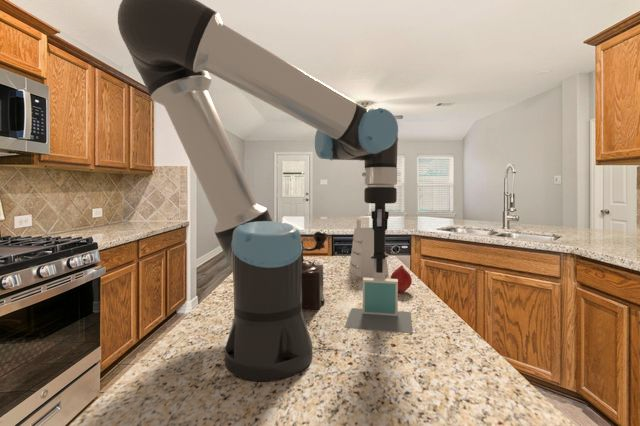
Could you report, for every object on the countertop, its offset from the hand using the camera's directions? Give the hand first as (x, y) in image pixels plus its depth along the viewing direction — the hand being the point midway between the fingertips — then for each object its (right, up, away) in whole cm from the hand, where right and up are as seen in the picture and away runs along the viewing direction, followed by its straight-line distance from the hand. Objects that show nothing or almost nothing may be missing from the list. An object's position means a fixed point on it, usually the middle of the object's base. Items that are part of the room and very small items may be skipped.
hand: (379, 284), depth 81 cm
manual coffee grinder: (-18, -6, +9) cm, 21 cm away
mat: (-1, -7, -5) cm, 9 cm away
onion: (+9, -6, +15) cm, 18 cm away
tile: (0, -6, -2) cm, 6 cm away
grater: (+3, -4, +39) cm, 39 cm away
